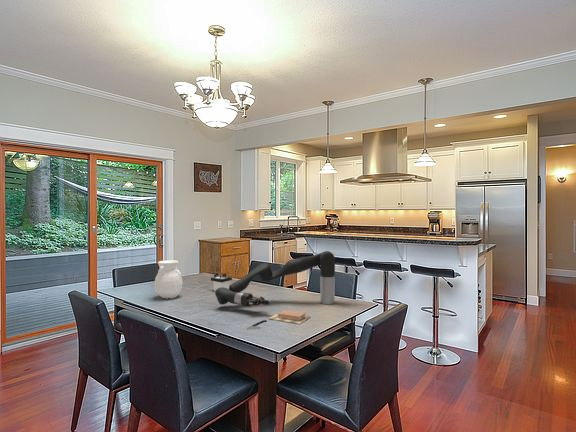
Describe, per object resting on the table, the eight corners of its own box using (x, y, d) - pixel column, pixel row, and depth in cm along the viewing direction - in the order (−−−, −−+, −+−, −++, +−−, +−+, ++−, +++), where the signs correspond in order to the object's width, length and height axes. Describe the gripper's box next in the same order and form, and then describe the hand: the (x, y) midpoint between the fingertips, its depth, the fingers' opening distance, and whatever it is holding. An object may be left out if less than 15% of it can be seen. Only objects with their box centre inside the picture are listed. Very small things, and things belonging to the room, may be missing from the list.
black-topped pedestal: (246, 290, 270) (246, 272, 270) (222, 297, 248) (222, 278, 248) (220, 285, 285) (219, 269, 285) (194, 292, 263) (194, 274, 263)
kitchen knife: (277, 323, 189) (263, 320, 195) (277, 322, 189) (263, 319, 195) (241, 340, 165) (225, 336, 171) (241, 339, 165) (225, 335, 171)
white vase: (166, 293, 259) (166, 259, 258) (188, 295, 253) (187, 260, 252) (148, 299, 241) (148, 262, 241) (171, 301, 235) (170, 263, 235)
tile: (278, 313, 196) (299, 316, 190) (284, 309, 203) (305, 312, 197) (278, 317, 196) (299, 321, 190) (284, 314, 204) (305, 317, 197)
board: (268, 319, 196) (268, 318, 196) (280, 312, 208) (280, 311, 208) (299, 324, 187) (299, 323, 187) (310, 317, 199) (310, 316, 199)
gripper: (237, 295, 206) (262, 298, 198) (250, 290, 218) (274, 293, 209) (237, 308, 206) (262, 312, 198) (250, 302, 218) (274, 306, 209)
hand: (268, 302), depth 203 cm, fingers closed
